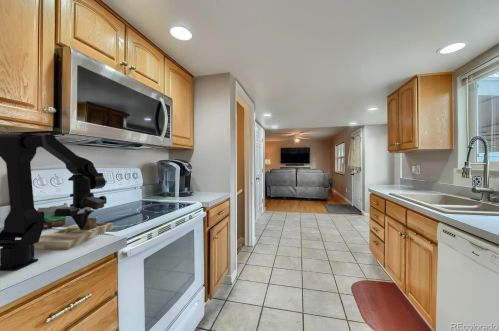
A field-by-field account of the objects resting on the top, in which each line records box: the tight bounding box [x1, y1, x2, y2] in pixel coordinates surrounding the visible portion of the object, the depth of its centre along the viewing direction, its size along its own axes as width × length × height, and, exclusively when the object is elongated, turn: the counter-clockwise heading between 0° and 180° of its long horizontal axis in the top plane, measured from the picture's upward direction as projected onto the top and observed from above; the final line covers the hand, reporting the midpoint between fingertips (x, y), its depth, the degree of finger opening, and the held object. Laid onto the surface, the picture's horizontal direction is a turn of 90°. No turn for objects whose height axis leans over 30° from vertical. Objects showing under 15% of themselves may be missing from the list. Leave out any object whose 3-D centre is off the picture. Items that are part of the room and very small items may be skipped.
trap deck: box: [33, 222, 114, 250], centre depth 88 cm, size 24×16×3 cm, turn 179°
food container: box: [36, 202, 69, 230], centre depth 102 cm, size 12×6×10 cm, turn 168°
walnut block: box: [80, 217, 98, 230], centre depth 91 cm, size 4×4×4 cm
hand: (81, 228), depth 87 cm, fingers closed
